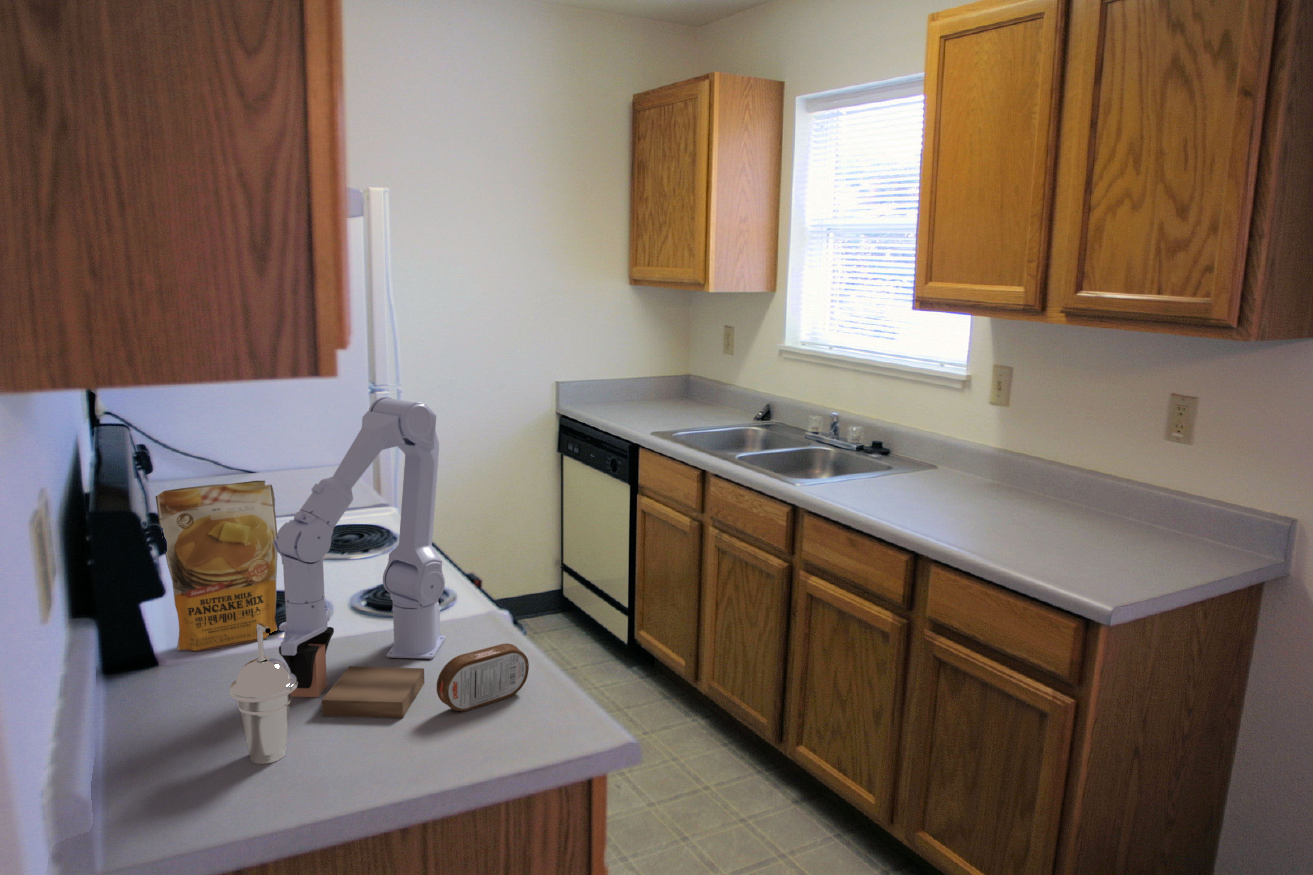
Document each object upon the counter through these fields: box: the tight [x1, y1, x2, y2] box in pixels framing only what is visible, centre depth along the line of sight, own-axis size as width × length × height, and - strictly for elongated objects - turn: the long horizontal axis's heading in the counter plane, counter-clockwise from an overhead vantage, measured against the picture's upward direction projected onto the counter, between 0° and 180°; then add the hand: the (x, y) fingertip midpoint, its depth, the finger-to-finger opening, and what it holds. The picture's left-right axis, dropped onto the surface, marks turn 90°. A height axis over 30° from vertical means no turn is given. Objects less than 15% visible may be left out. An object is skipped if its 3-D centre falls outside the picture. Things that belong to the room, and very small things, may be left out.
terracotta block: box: [291, 644, 328, 698], centre depth 148 cm, size 4×4×7 cm
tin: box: [435, 642, 530, 712], centre depth 145 cm, size 15×3×8 cm, turn 130°
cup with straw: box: [229, 622, 298, 765], centre depth 127 cm, size 8×9×20 cm
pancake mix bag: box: [155, 480, 279, 652], centre depth 165 cm, size 7×19×28 cm, turn 122°
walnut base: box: [321, 665, 425, 719], centre depth 146 cm, size 12×12×2 cm
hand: (309, 680), depth 148 cm, fingers closed on terracotta block, 4 cm apart
